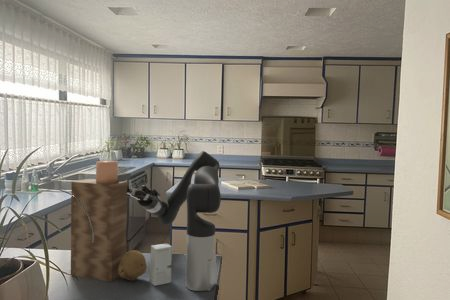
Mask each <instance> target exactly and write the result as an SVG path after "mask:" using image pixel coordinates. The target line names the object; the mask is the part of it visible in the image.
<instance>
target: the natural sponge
mask: <svg viewBox="0 0 450 300" xmlns="http://www.w3.org/2000/svg"><path fill="white" fill-rule="evenodd" d="M147 268H148V265H147V261H146V258H145V255H144V254H143V253H142V252H141V251H139V250H135V249H133V250H128V251H126V253H125V254H124V255H123V257H122V258H121V261H120V264H119V267H118V274H119V277H121V278H123V279H126V280H127V281H135V280H137V279H138V278H139V277H141V276H143V275H144V274H145V273H146V272H147V270H148V269H147Z"/></svg>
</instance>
